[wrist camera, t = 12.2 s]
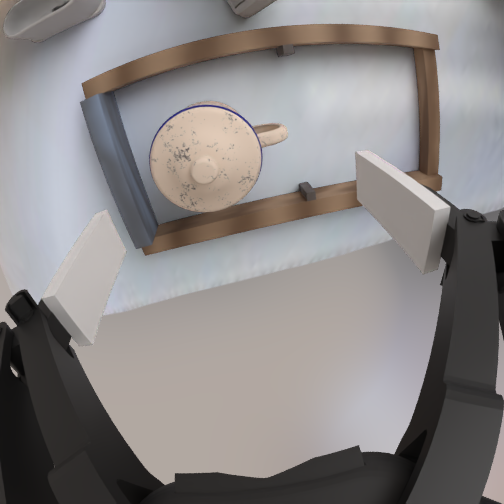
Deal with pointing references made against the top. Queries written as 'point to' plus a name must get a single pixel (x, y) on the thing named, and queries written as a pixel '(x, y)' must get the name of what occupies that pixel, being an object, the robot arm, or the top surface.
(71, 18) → the phone holder
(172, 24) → the top surface
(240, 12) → the digital clock
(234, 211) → the open rectangular wooden frame
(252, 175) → the teacup with lid
